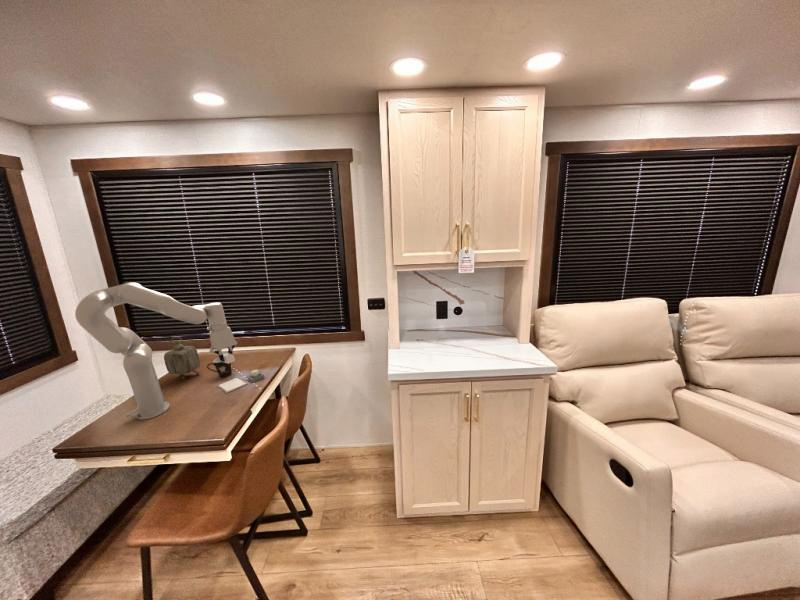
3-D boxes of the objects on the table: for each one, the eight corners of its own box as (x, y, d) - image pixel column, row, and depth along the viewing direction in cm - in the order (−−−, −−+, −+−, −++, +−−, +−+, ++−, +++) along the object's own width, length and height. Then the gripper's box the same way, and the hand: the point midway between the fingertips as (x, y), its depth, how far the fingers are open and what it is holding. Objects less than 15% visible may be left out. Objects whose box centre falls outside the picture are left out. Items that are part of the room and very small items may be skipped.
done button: (253, 378, 166) (252, 373, 165) (250, 376, 169) (249, 371, 168) (260, 375, 169) (259, 370, 168) (257, 373, 171) (256, 369, 171)
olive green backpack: (203, 373, 181) (193, 334, 174) (191, 381, 172) (180, 339, 166) (181, 373, 182) (170, 334, 176) (168, 381, 173) (156, 340, 167)
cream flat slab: (226, 393, 155) (226, 392, 155) (216, 386, 164) (216, 385, 164) (248, 384, 163) (247, 383, 163) (237, 377, 172) (237, 376, 172)
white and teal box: (228, 363, 154) (226, 357, 153) (220, 361, 161) (218, 355, 161) (235, 360, 156) (233, 354, 156) (227, 358, 164) (225, 352, 163)
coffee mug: (237, 371, 180) (233, 355, 177) (227, 378, 172) (224, 362, 169) (218, 371, 181) (215, 356, 179) (208, 378, 173) (204, 362, 170)
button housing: (252, 382, 165) (252, 379, 164) (247, 379, 169) (246, 376, 168) (264, 377, 169) (263, 374, 169) (259, 374, 174) (258, 371, 173)
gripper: (203, 333, 146) (212, 367, 151) (238, 322, 158) (246, 355, 162) (198, 330, 151) (207, 364, 155) (232, 320, 163) (240, 352, 167)
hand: (227, 359), depth 159 cm, fingers closed on white and teal box, 3 cm apart
